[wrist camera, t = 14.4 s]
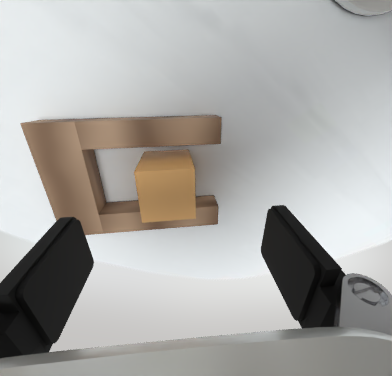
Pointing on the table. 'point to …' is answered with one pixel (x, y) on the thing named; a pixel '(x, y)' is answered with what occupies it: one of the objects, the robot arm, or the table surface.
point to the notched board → (89, 174)
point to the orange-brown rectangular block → (166, 186)
